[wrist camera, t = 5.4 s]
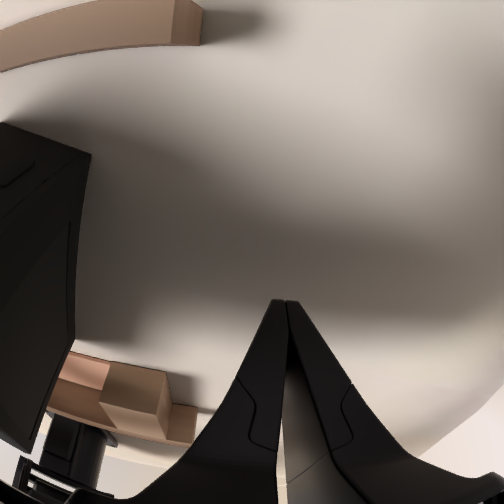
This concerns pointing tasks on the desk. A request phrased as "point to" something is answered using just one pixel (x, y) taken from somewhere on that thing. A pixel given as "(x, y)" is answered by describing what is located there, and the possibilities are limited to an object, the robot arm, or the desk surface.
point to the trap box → (76, 365)
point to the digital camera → (36, 273)
